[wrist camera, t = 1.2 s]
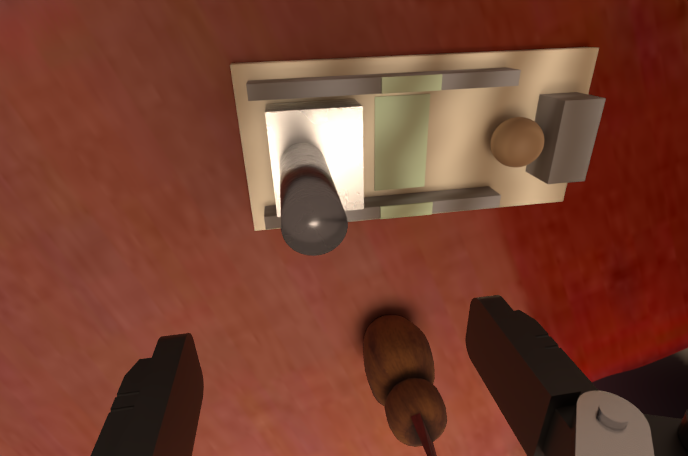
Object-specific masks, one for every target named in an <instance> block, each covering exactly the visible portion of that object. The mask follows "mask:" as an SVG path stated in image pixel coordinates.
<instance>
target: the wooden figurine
mask: <svg viewBox="0 0 688 456" xmlns="http://www.w3.org/2000/svg"><path fill="white" fill-rule="evenodd" d="M363 355H364V366H365V372H366V376H367V380H368V382H369V385H370V388H371V390H372V393H373V395H374V397H375V398H376V400H377V401H378V402H379V403H380V404H382V405H383V406H385V412H386V417H387V421H388V424H389V427H390V429H391V430H392V432H393V434H394V435H395V437H396V438H397V439H398V440H399V441H400V442H402V443H404V444H406V445H408V446H414V447H417V446H423V447H424V450H425V452H426V454H427V456H437V455H436V452H435V448H434V445H433V442H434V441H435V440H436V439H437V438H439V437H440V435H441V434H442V433H443V432H444V429H445V427H446V423H447V415H446V407H445V404H444V402H443V399H442V397H441V395H440V393H439V392H438V390H437V388H436V387H435V386H434V385H433V382H434V379H435V377H434V361H433V357H432V353H431V349H430V346H429V343H428V341H427V339H426V336H425V335H424V334H423V332H422V331H421V330H420V329H419V328H418V327H417V326H415V325H414V324H413V323H411V322H410V321H409V320H407V319H406V318H404V317H402V316H398V315H384V316H382V317H380V318H377V319H376V320H375V321H373V322H372V323H371V324H370V325H369V327H368V328H367V330H366V333H365V337H364V344H363Z"/></svg>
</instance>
